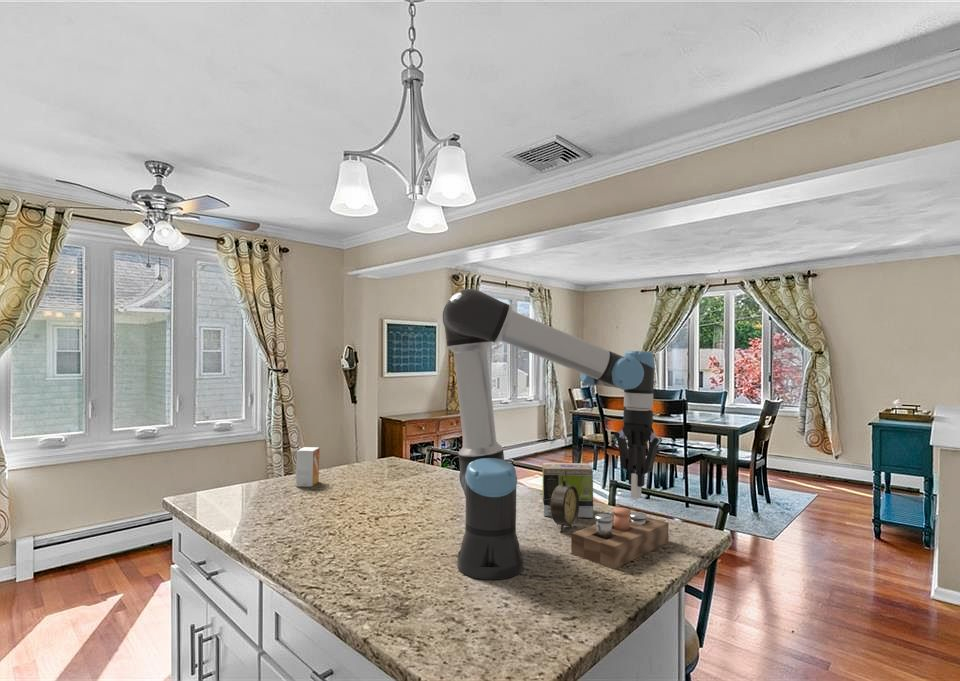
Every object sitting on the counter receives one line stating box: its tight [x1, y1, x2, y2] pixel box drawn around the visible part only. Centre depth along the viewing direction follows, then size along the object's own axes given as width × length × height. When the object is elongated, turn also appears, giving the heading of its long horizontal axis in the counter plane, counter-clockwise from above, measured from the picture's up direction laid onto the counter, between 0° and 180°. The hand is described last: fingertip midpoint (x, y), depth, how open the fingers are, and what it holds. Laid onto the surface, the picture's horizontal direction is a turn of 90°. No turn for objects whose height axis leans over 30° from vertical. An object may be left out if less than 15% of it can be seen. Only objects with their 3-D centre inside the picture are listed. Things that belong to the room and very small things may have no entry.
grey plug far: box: [629, 511, 648, 525], centre depth 135 cm, size 4×4×5 cm
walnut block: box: [570, 516, 669, 570], centre depth 130 cm, size 26×12×5 cm, turn 133°
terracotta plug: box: [612, 507, 632, 532], centre depth 130 cm, size 4×4×5 cm
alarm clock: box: [550, 470, 579, 534], centre depth 144 cm, size 11×5×16 cm, turn 147°
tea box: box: [542, 462, 594, 519], centre depth 158 cm, size 15×10×15 cm
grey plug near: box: [594, 513, 614, 540], centre depth 124 cm, size 4×4×5 cm
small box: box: [295, 446, 321, 488], centre depth 189 cm, size 8×6×13 cm
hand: (636, 497), depth 135 cm, fingers closed
